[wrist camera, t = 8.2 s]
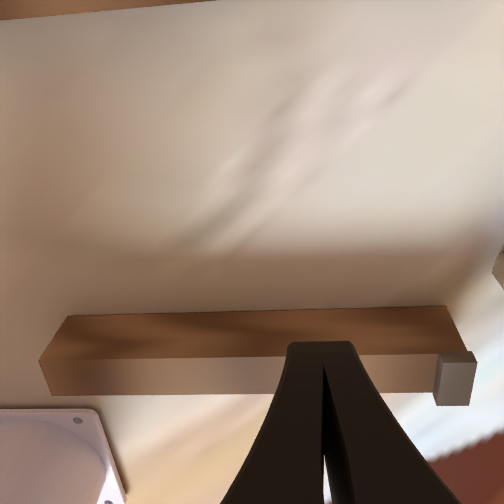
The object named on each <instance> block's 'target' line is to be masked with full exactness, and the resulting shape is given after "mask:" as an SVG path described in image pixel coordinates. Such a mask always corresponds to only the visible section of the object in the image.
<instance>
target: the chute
mask: <svg viewBox="0 0 504 504" xmlns="http://www.w3.org/2000/svg"><path fill="white" fill-rule="evenodd" d="M203 1H214V0H0V20H10V19H21V18H31V17H42V16H53V15H64V14H74V13H85V12H96V11H107V10H117V9H128V8H139V7H150V6H160V5H171V4H182V3H193V2H203ZM308 341H350V342H351V343H352V344H353V345H354V347H355V349H356V352H357V354H358V356H359V358H360V360H361V362H362V364H363V366H364V368H365V370H366V372H367V373H368V375H369V377H370V379H371V380H372V382H373V384H374V386H375V387H376V389H377V391H378V392H379V393H424V392H433V397H434V399H435V402H436V405H437V406H469V403H470V398H471V392H472V387H473V382H474V377H475V372H476V367H477V361H476V359H475V357H474V355H473V353H472V351H467V349H466V347H465V345H464V343H463V341H462V339H461V336H460V334H459V332H458V330H457V328H456V326H455V324H454V322H453V320H452V318H451V316H450V314H449V312H448V310H447V307H446V306H431V307H393V308H355V309H317V310H279V311H241V312H203V313H165V314H127V315H89V316H68V317H67V318H66V320H65V321H64V323H63V324H62V326H61V327H60V329H59V330H58V332H57V333H56V335H55V336H54V338H53V339H52V341H51V342H50V344H49V345H48V347H47V348H46V350H45V351H44V353H43V354H42V356H41V357H40V359H39V360H38V361H39V364H40V366H41V369H42V371H43V374H44V376H45V379H46V381H47V384H48V386H49V389H50V391H51V394H52V396H80V395H195V394H275V392H276V390H277V387H278V384H279V381H280V378H281V374H282V371H283V367H284V364H285V359H286V354H287V346H288V345H289V344H290V343H292V342H308Z"/></svg>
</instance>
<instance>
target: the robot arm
mask: <svg viewBox="0 0 504 504" xmlns="http://www.w3.org/2000/svg"><path fill="white" fill-rule="evenodd" d="M324 456H325V462H326V468H327V474H328V480H329V486H330V492H331V498H332V504H462V503H461V502H460V501H459V500H458V499H457V498H456V497H455V495H454V494H453V493H452V492H451V491H450V489H449V488H448V487H447V486H446V485H445V484H444V482H443V481H442V480H441V479H440V478H439V476H438V475H437V474H436V473H435V471H434V470H433V469H432V468H431V466H430V465H429V464H428V463H427V461H426V460H425V459H424V457H423V456H422V455H421V453H420V452H419V451H418V449H417V448H416V447H415V445H414V444H413V443H412V441H411V440H410V439H409V437H408V436H407V434H406V433H405V432H404V430H403V429H402V427H401V426H400V424H399V423H398V422H397V420H396V419H395V417H394V416H393V414H392V412H391V411H390V409H389V408H388V406H387V405H386V403H385V402H384V400H383V399H382V397H381V396H380V394H379V392H378V391H377V389H376V387H375V386H374V384H373V382H372V380H371V379H370V377H369V375H368V373H367V372H366V370H365V368H364V366H363V364H362V362H361V360H360V358H359V356H358V354H357V352H356V349H355V347H354V345H353V344H352V343H351V342H350V341H308V342H292V343H290V344H289V345H288V346H287V354H286V359H285V364H284V367H283V371H282V374H281V378H280V381H279V384H278V387H277V390H276V392H275V395H274V397H273V400H272V402H271V405H270V408H269V410H268V413H267V415H266V418H265V420H264V422H263V424H262V426H261V428H260V431H259V433H258V435H257V437H256V439H255V441H254V443H253V445H252V447H251V450H250V452H249V454H248V456H247V457H246V459H245V461H244V463H243V465H242V467H241V469H240V471H239V472H238V474H237V476H236V478H235V479H234V481H233V483H232V485H231V486H230V488H229V490H228V492H227V493H226V495H225V497H224V498H223V500H222V501H221V503H220V504H324V495H323V479H324ZM126 500H127V497H126V494H125V491H124V489H123V486H122V483H121V480H120V477H119V474H118V471H117V468H116V465H115V462H114V459H113V456H112V453H111V451H110V448H109V445H108V442H107V439H106V436H105V433H104V430H103V427H102V424H101V421H100V418H99V415H98V414H97V412H95V411H94V410H92V409H0V504H125V503H126Z"/></svg>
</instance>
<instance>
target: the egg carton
mask: <svg viewBox="0 0 504 504" xmlns="http://www.w3.org/2000/svg"><path fill="white" fill-rule="evenodd" d="M492 274H493V275H494V277H495V278H496V280H497V281H498V282H499V284H500V285H501V286H502V288H503V289H504V253H500V254H499V255H498V257H497V260H496V263H495V265H494V268H493V271H492Z"/></svg>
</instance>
